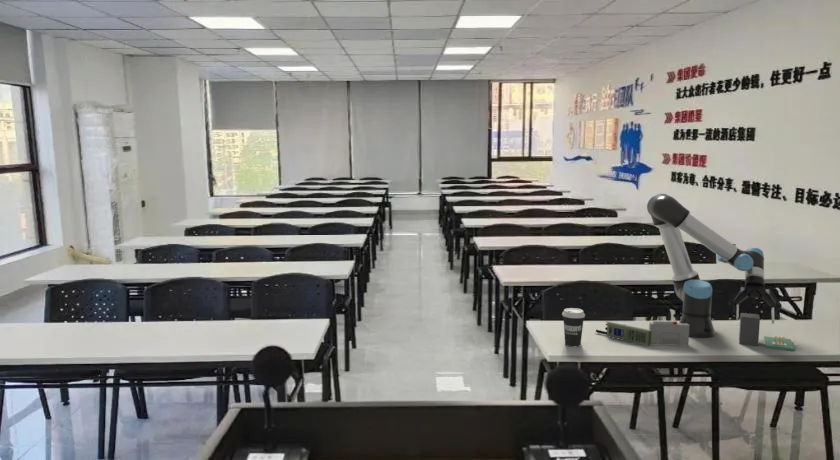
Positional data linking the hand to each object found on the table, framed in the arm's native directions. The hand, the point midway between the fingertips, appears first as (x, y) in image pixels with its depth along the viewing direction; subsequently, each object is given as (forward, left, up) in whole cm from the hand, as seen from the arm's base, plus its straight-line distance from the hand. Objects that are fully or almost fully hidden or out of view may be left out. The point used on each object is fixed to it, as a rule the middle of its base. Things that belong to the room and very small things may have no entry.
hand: (755, 320), depth 260 cm
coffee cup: (-70, -39, -9) cm, 81 cm away
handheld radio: (-52, -22, -9) cm, 57 cm away
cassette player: (-33, -21, -9) cm, 40 cm away
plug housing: (-2, -5, -9) cm, 10 cm away
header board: (+9, -2, -9) cm, 13 cm away
